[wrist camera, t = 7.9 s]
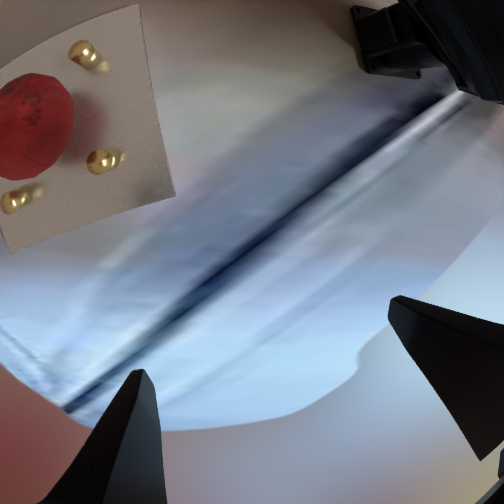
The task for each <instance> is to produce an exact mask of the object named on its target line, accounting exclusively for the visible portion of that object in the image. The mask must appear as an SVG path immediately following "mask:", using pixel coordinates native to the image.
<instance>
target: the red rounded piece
mask: <svg viewBox="0 0 504 504" xmlns="http://www.w3.org/2000/svg"><path fill="white" fill-rule="evenodd" d="M73 119H74V108H73V104H72V100H71V96H70V93H69V92H68V91H67V90H66V88H65V87H64V86H63V85H62V83H61V82H60V81H59V80H58V79H56V78H55V77H53V76H48V75H43V74H38V73H28V74H24V75H22V76H20V77H17V78H15V79H13V80H12V81H10V82H8V83H7V84H6V85H4V86H3V87H2V88H1V89H0V177H3V178H6V179H8V180H11V181H18V180H24V179H30V178H35V177H36V176H38V175H39V174H41V173H42V172H44V171H45V170H47V169H48V168H50V167H51V166H52V165H54V164H55V162H56V161H57V160H58V158H59V157H60V155H61V154H62V153H63V151H64V150H65V149H66V147H67V144H68V141H69V138H70V136H71V133H72V130H73Z"/></svg>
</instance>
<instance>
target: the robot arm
mask: <svg viewBox="0 0 504 504" xmlns="http://www.w3.org/2000/svg"><path fill="white" fill-rule="evenodd" d="M355 9H356V10H357V11H358V12H357V11H356V10H355ZM350 11H351V14H352V18H353V21H354V24H355V28H356V32H357V35H358V39H359V43H360V47H361V51H362V55H363V60H364V64H365V69H366V71H367V72H368V73H369V74H376V75H387V76H396V77H403V78H410V79H420V78H421V71H420V69H423V68H431V67H441V66H446V67H447V68H448V70H449V72H450V73H451V75H452V77H453V78H454V80H455V82H456V83H455V84H456V86H457V88H458V90H460V91H463V92H467V93H470V94H473V95H476V96H478V97H480V98H481V99H483V100H485V101H490V102H495V103H498V104H503V105H504V0H398V3H396V4H393V5H391V6H389V7H385V8H382V9H380V10H375V9H371V8H367V7H362V6H357V5H354V6H353V7H351V8H350ZM371 67H372V69H373V70H372V69H371ZM416 74H417V75H416ZM388 320H389V322H390V324H391V325H392V327H393V329H394V330H395V332H396V334H397V335H398V337H399V339H400V340H401V342H402V344H403V346H404V347H405V349H406V350H407V352H408V353H409V355H410V356H411V357H412V359H413V360H414V361H415V363H416V364H417V366H418V367H419V368H420V370H421V371H422V372H423V374H424V375H425V377H426V378H427V380H428V381H429V383H430V384H431V385H432V387H433V388H434V390H435V391H436V393H437V394H438V396H439V397H440V399H441V400H442V401H443V403H444V404H445V406H446V407H447V409H448V410H449V412H450V413H451V415H452V417H453V418H454V420H455V421H456V423H457V425H458V426H459V428H460V430H461V431H462V433H463V434H464V436H465V438H466V439H467V441H468V443H469V444H470V446H471V447H472V449H473V451H474V453H475V454H476V456H477V458H478V459H479V460H480V461H481V460H482V459H484V458H485V457H486V456H487V455H488V454H490V453H491V452H492V451H493V450H494V449H495V448H496V447H497V446H498V445H499V444H500V443H501V442H502V441H503V440H504V325H503V324H498V323H494V322H490V321H487V320H484V319H480V318H478V319H477V317H473V316H470V315H466V314H463V313H460V312H456V311H453V310H449V309H446V308H443V307H439V306H435V305H432V304H429V303H425V302H422V301H419V300H415V299H412V298H408V297H405V296H402V295H399V296H396V297H394V298H392V299H391V300H390V305H389V311H388ZM84 444H85V445H83V446H82V448H81V449H80V451H79V453H78V454H77V456H76V457H75V459H74V460H73V462H72V463H71V465H70V466H69V467H68V469H67V470H66V471H65V473H64V474H63V475H62V477H61V478H60V479H59V481H58V482H57V483H56V484H55V486H54V487H53V488H52V490H51V491H50V492H49V494H48V495H47V496H46V497H45V498H44V499H43V500H42V501H40V502H39V503H37V504H167V497H166V489H165V479H164V469H163V457H162V443H161V427H160V420H159V414H158V408H157V401H156V393H155V388H154V385H153V383H152V381H151V380H150V378H149V376H148V374H147V373H146V371H145V370H144V369H137V370H133V371H131V373H130V374H129V376H128V377H127V379H126V380H125V382H124V383H123V385H122V386H121V388H120V389H119V391H118V392H117V394H116V395H115V397H114V398H113V400H112V401H111V403H110V404H109V406H108V407H107V409H106V410H105V412H104V413H103V415H102V416H101V418H100V420H99V421H98V423H97V424H96V426H95V427H94V429H93V430H92V432H91V434H90V435H89V437H88V438H87V440H86V442H85V443H84ZM498 477H499V478H500V479H499V481H498V482H497V483H496V484H495V485H494V486H493V487H492V488H491V489H490V490H489V491H488V492H487V493H486V494H485V495H484V496H483V497H482V498H481V499H480V500H479V501H477V502H476V503H475V504H504V448H503V449H502V451H501V452H500V462H499V470H498Z"/></svg>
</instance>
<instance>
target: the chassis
mask: <svg viewBox="0 0 504 504" xmlns="http://www.w3.org/2000/svg"><path fill="white" fill-rule="evenodd" d="M28 73H38V74H43V75H48V76H53V77H55V78H56V79H58V80H59V81H60V82H61V83H62V85H63V86H64V87H65V88H66V90H67V91H68V92H69V93H70V96H71V100H72V104H73V108H74V119H73V130H72V133H71V136H70V138H69V141H68V144H67V147H66V149H65V150H64V151H63V153H62V154H61V155H60V157H59V158H58V160H57V161H56V162H55V164H54V165H52V166H51V167H50V168H48V169H47V170H45V171H44V172H42V173H41V174H39V175H38V176H36V177H35V178H30V179H24V180H18V181H11V180H8V179H6V178H3V177H0V227H1V230H2V233H3V235H4V238H5V241H6V243H7V246H8V249H9V251H10V254H12V253H14V252H16V251H19V250H21V249H23V248H26V247H28V246H31V245H33V244H35V243H38V242H40V241H43V240H45V239H48V238H50V237H53V236H56V235H58V234H61V233H63V232H66V231H69V230H71V229H74V228H77V227H80V226H82V225H85V224H88V223H91V222H94V221H97V220H100V219H103V218H105V217H108V216H112V215H115V214H118V213H121V212H124V211H127V210H130V209H133V208H137V207H140V206H143V205H146V204H150V203H153V202H157V201H160V200H164V199H167V198H171V197H174V196H175V195H176V192H175V188H174V185H173V181H172V176H171V172H170V168H169V164H168V160H167V156H166V151H165V147H164V142H163V138H162V133H161V129H160V124H159V119H158V114H157V109H156V104H155V99H154V94H153V89H152V83H151V78H150V72H149V66H148V60H147V54H146V47H145V41H144V34H143V26H142V19H141V10H140V6H139V3H138V4H135V5H131V6H128V7H125V8H122V9H118V10H115V11H113V12H110V13H107V14H104V15H101V16H99V17H96V18H93V19H91V20H88V21H86V22H84V23H81V24H79V25H77V26H74V27H72V28H70V29H68V30H66V31H64V32H62V33H60V34H58V35H56V36H54V37H52V38H50V39H48V40H46V41H44V42H42V43H41V44H39V45H37V46H35V47H34V48H32V49H30V50H29V51H27V52H25V53H24V54H22V55H20V56H19V57H17V58H16V59H14V60H13V61H11V62H10V63H8V64H7V65H5V66H4V67H3V68H1V69H0V89H1V88H2V87H3V86H4V85H6V84H7V83H8V82H10V81H12V80H13V79H15V78H17V77H20V76H22V75H24V74H28Z"/></svg>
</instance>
